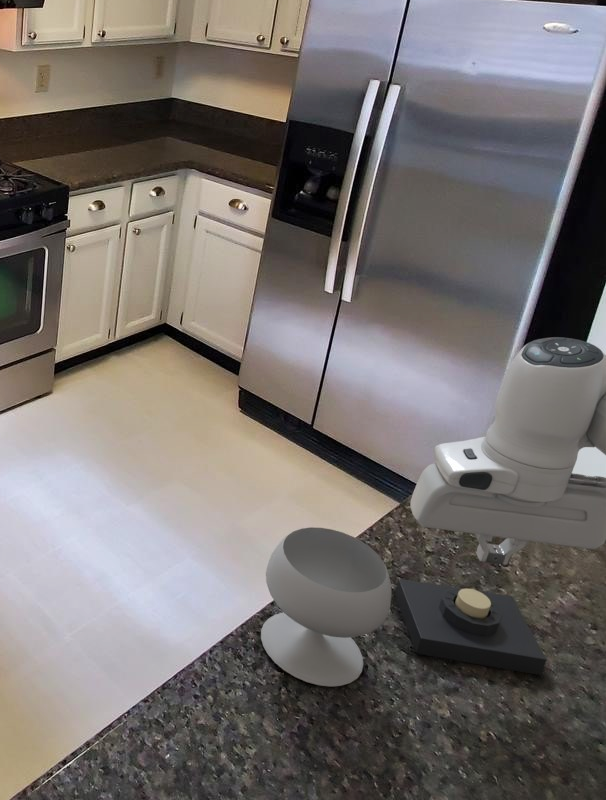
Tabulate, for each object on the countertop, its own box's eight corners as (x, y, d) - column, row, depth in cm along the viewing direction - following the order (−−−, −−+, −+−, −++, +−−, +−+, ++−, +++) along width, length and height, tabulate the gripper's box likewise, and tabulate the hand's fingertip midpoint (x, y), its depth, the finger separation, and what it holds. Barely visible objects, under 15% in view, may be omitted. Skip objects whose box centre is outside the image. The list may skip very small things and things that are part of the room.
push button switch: (481, 601, 104) (485, 590, 104) (491, 621, 101) (495, 610, 101) (451, 596, 105) (454, 586, 104) (460, 616, 102) (463, 605, 101)
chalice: (290, 593, 111) (310, 507, 105) (391, 657, 101) (420, 565, 95) (231, 641, 104) (249, 551, 97) (334, 715, 93) (361, 619, 87)
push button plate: (506, 611, 108) (516, 585, 106) (540, 675, 98) (551, 648, 97) (394, 593, 111) (401, 568, 109) (415, 653, 102) (424, 627, 100)
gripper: (611, 464, 94) (574, 556, 100) (421, 443, 99) (396, 532, 105) (639, 496, 89) (598, 591, 95) (436, 472, 94) (409, 564, 99)
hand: (490, 559), depth 100 cm, fingers closed
